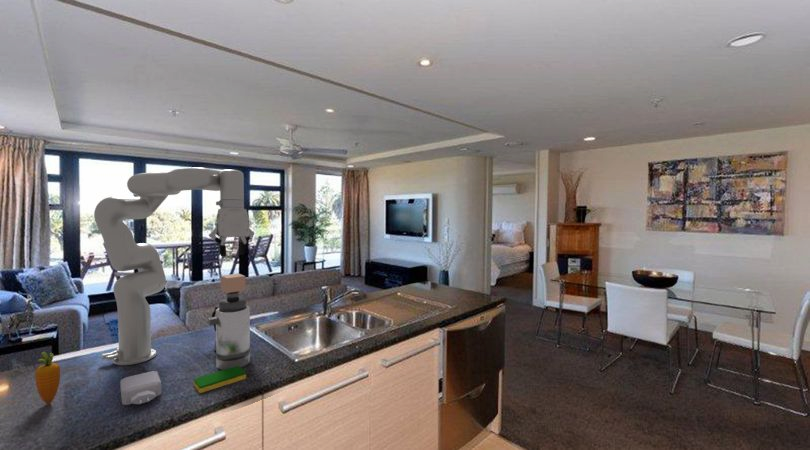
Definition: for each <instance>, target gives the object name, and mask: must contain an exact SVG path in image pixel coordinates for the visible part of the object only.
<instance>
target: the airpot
mask: <svg viewBox="0 0 810 450" xmlns="http://www.w3.org/2000/svg"><path fill="white" fill-rule="evenodd" d="M218 304H219V308H218V309H216V314H215V317H212V316H211V317H208V318H207V325H209V326H214V325H215V324H216V332H215V341H216V352H215V361H216V363H215V364H216V368H217V369H219V370H221V371H222V370H226V369H229V368H232V367H236V366H239V367H241V368H243V367H245V366H247V365H248V364H250V362H251V336H250V334H251V324H250V323H251V317H250V316H251V314H250V313H251V312H250V311H251V309H250V305H248V299H247V298H245V297H240V291H237V292H231V293H226V298H224V299H220V300H219V301H218Z"/></svg>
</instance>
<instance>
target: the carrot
mask: <svg viewBox="0 0 810 450" xmlns="http://www.w3.org/2000/svg"><path fill="white" fill-rule="evenodd" d="M40 354H41V356H42V357H43V358H44V359H43V358H39V359H37V361H38V362H42V365H40V366H38V367H37V369H36V370H35V372H34V373H35V374H34V375H35V376H34V377H35V385H36V389H37V392H38V395H39V397H40V398H41V400H42V401H43V402H44V403H45V404H47V405H51V403H52V402H53V401H54V399H55V398H56V396H57V393H58V389H59V386H60V381H61V365H60V364H59V363H56V362H53V358H54V353H52V352H50V353H49V355H48V354H47V352H46V351H42V352H41V353H40Z"/></svg>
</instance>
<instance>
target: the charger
mask: <svg viewBox="0 0 810 450" xmlns="http://www.w3.org/2000/svg"><path fill="white" fill-rule="evenodd" d="M161 395H162V381H161V378H160V375H159V372H158V371H157V370H156V371H155V370H152V371H148V372H147V371H146V372H142V373H139V374H135V375H129V376H126V377H124V378H122V379H120V397H121V403H122V405H123V406H128V405H129V406H130V405H132V404H133V405H141V404H146V403H149V402H150V401H151V400H153V399H155V398H157V397H159V396H161Z"/></svg>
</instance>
